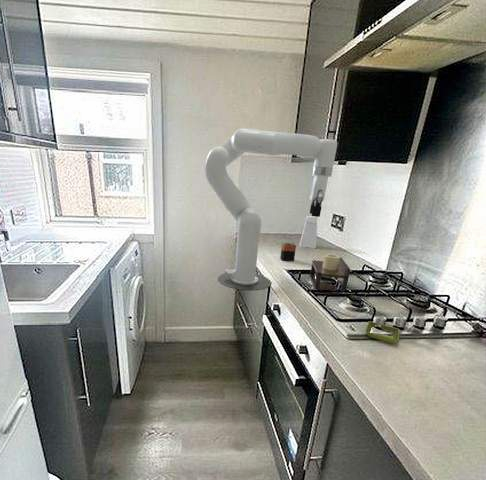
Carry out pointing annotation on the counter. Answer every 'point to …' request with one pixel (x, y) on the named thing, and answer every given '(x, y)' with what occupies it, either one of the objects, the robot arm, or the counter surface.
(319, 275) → the rack
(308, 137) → the robot arm
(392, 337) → the green square frame
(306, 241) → the grater
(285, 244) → the battery
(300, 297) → the counter surface
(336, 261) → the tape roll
